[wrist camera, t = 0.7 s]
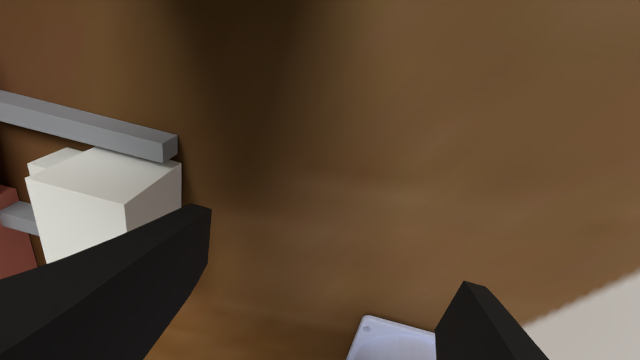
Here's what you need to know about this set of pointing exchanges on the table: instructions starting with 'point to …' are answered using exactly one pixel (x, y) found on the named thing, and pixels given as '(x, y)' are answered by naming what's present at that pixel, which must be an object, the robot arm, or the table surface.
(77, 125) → the forklift
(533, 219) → the table surface
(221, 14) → the table surface
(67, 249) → the white block
